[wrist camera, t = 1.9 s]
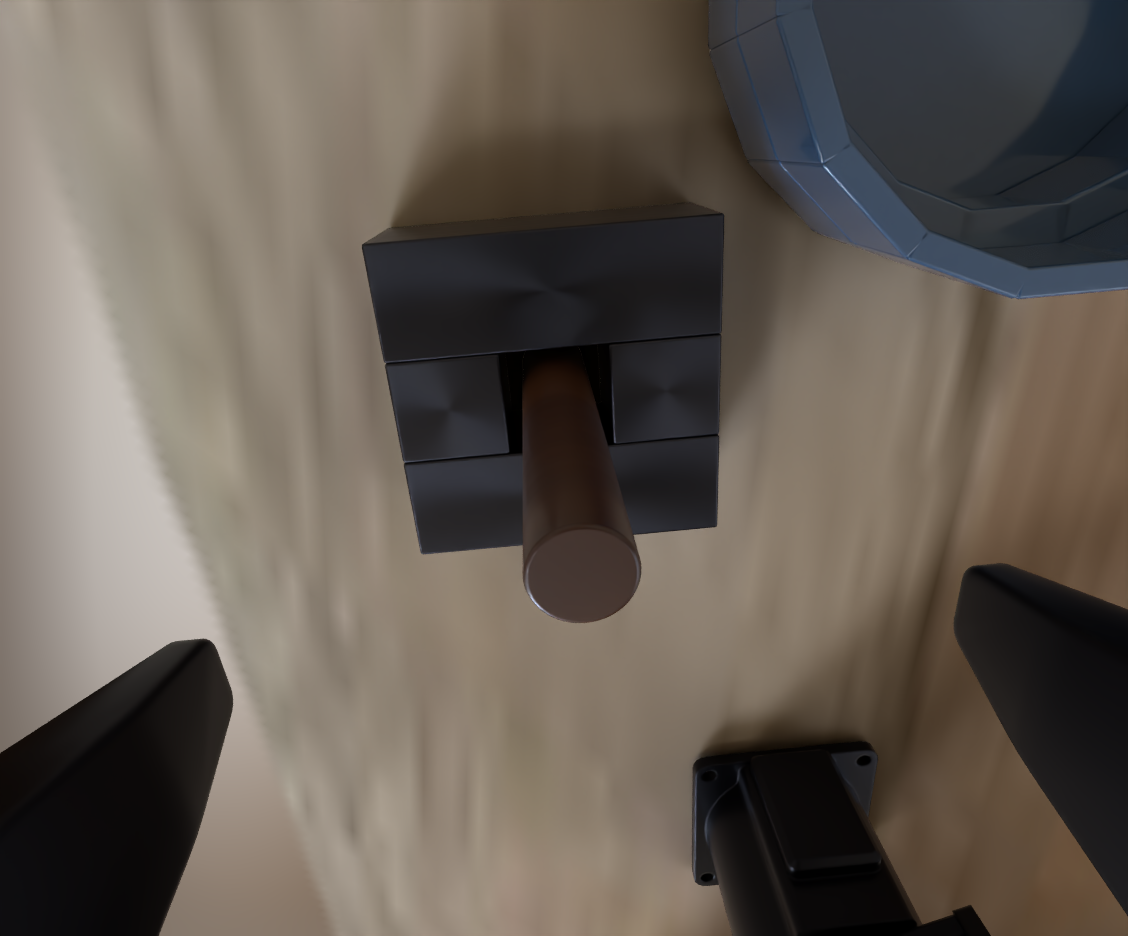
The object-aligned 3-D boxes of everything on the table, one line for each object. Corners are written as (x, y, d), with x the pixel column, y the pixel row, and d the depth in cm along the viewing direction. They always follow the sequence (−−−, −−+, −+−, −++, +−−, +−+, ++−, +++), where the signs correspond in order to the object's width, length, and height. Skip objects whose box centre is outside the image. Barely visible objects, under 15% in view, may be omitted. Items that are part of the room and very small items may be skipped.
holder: (691, 475, 20) (717, 527, 17) (434, 499, 20) (420, 555, 17) (692, 202, 17) (724, 213, 14) (386, 228, 17) (360, 243, 14)
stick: (584, 388, 19) (644, 619, 10) (525, 394, 19) (529, 630, 10) (580, 330, 18) (640, 519, 9) (519, 336, 18) (516, 531, 9)
